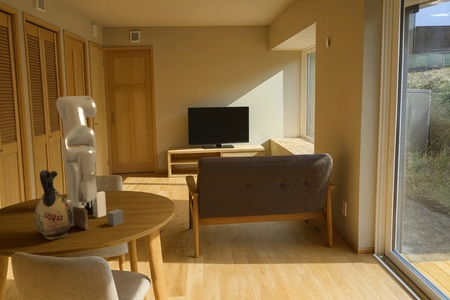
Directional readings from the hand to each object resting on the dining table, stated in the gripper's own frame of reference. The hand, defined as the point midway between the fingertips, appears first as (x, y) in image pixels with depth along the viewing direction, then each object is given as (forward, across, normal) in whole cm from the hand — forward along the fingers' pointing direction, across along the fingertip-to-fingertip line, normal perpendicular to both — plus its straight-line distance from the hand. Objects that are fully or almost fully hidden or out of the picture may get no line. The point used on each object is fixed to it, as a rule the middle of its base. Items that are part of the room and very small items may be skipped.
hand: (89, 214), depth 200 cm
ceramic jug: (+6, +15, -9) cm, 18 cm away
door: (+5, +2, -5) cm, 7 cm away
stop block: (+6, -5, +10) cm, 13 cm away
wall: (+6, -7, -6) cm, 11 cm away
